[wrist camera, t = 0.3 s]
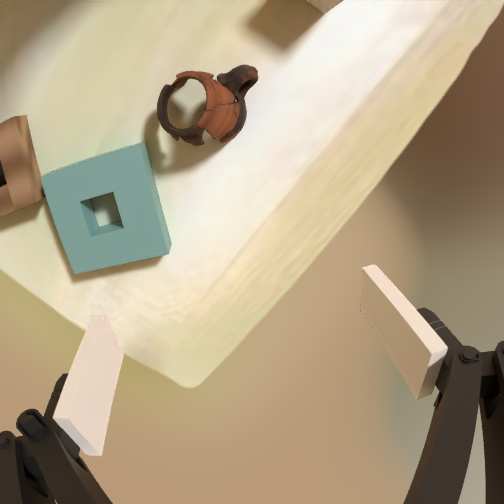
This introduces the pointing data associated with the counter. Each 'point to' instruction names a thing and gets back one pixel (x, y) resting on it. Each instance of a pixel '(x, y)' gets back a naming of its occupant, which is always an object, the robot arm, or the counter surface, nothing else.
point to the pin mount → (18, 166)
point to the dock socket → (128, 202)
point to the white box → (324, 4)
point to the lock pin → (1, 173)
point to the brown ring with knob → (213, 104)
